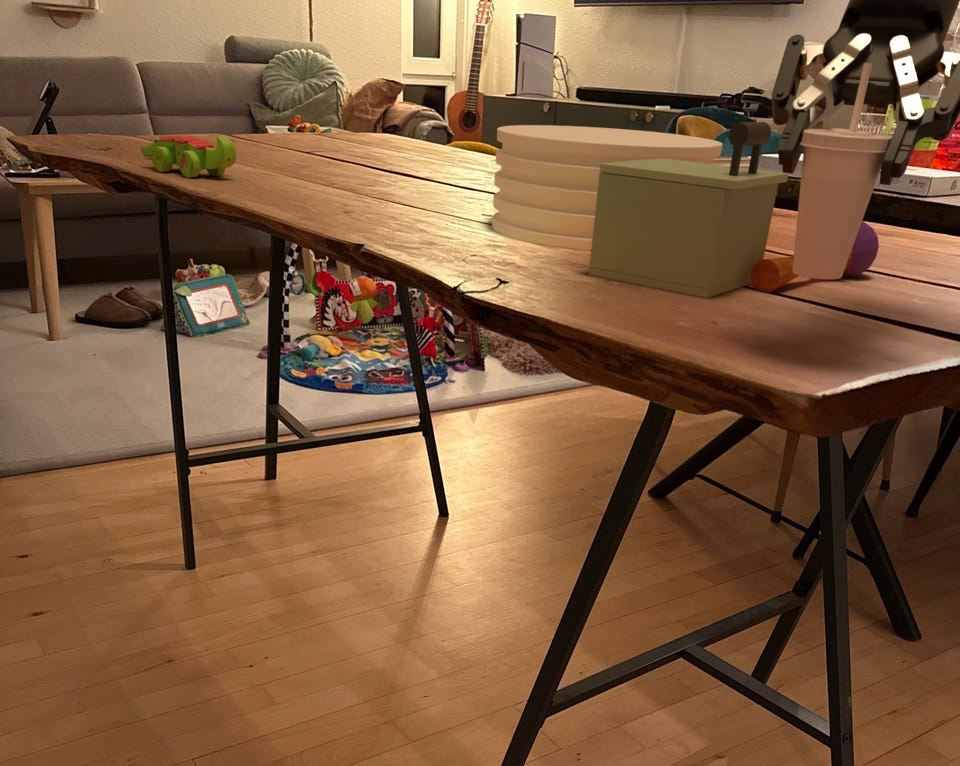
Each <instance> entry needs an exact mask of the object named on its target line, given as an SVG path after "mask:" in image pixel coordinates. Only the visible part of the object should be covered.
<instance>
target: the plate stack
mask: <svg viewBox="0 0 960 766" xmlns="http://www.w3.org/2000/svg"><path fill="white" fill-rule="evenodd" d="M496 141H498V142H500V143H501V144H502V145H501V146H502V148H499V149H496V151H495V163H496V164H497V165H498V166H501V167H500V170H497V171H495V173H494V181H493V182H494V183H493V184H494V186H495V187H496V188H497V189H499V191H497V192H496V193H494V194H493V198H492V199H493V202H492V206H493V208H494V209H495V210H496V211H498V212H495V213H494V214H493V215H492V217H491V219H492V221H491V227H492V229H493V230H494V231H495V232H497V233H498V234H501V235H504V236H505V237H506V236H507V237H509V238H513V239H517V240H520V241H525V242H528V243H535V244H540V245H545V246H552V247H558V248H566V249H567V248H568V249H574V250H585V251H591V248H592V238H593V229H594V220H595V210H596V201H597V192H598V183H599V174H600V173H602V172H600V164H601V163H610V162H622V161H633V160H645V159H656V158H665V159H673V160H681V161H690V162H698V163H706V164H715V165H717V164H716V163H714V159H715V158H718V157H720V156H722V149H723V142H720V141H718V140H715V139H710V138H705V137H698V136H693V135H685V134H676V133H669V132H658V131H649V130H648V131H647V130H637V129H625V128H624V129H623V128H612V127H611V128H610V127H596V126H595V127H594V126H577V125H552V124H551V125H549V124H518V125H517V124H515V125H503V126H499V127H497V130H496Z"/></svg>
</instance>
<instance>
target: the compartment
mask: <svg viewBox="0 0 960 766" xmlns="http://www.w3.org/2000/svg"><path fill="white" fill-rule="evenodd" d="M778 187H779V183H776V184H770V185H763V186H756V187H750V188H743V189H737V190H731V189H724V188H716V187H709V186H701V185H694V184H686V183H679V182H671V181H664V180H656V179H649V178H641V177H634V176H626V175H619V174H611V173H603V172H602V173H600V174H599V183H598V192H597V201H596V210H595V220H594V229H593V238H592V248H591V250H590V257H589V258H590V259H589V268H588V275H589V276H594V277H599V278H604V279H607V280H614V281H620V282H624V283H628V284H635V285H639V286H640V285H641V286H645V287H650V288H656V289H660V290H665V291H669V292H676V293H681V294H686V295H690V296H696V297H701V298H707V299H708V298H711V297H714V296H718V295H720V294H724V293H727V292H729V291H732V290H735V289H739V288H742V287H744V286H748V285H753V284H752V281H751V272H752V269H753V267H754V265H755V264H756V263H757V262H758V261H760V260H764V259H765V253H766V248H767V242H768V238H769V233H770V228H771V223H772V217H773V212H774V207H775V202H776V198H777V192H778Z"/></svg>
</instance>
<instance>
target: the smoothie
mask: <svg viewBox="0 0 960 766" xmlns="http://www.w3.org/2000/svg"><path fill="white" fill-rule="evenodd" d="M871 67H872V63H864V65H863V70H862V74H861V79H860V83H859V88H858V92H857V97H856V101H855V106H854V105H853V111H852V115H851V119H850V124H849V128H848V129H847V128H842V127H841V128H838V127H832V128H811V129H806V130H804V131H803V136H802V141H801V142H800V145H801V146H804V149H803V152H802V153H803V154H802V164H801V173H800V184H799V185H800V186H799V195H798V206H797V218H796V228H795V229H796V230H795V239H794V251H793V256H794V259H793V270H792V272H793V273H794V274H796V275H799V276H798V277H803V278H808V279H810V278H811V279H816V280H838V279H841V278H843V277H842V275H843V272H844V269H845V266H846V264H847V261H848V258H849V255H850V253H851V250H852V247H853V244H854V242H855V239H856V236H857V233H858V231H859V228H860V225H861V222H862V221H863V220H864V217H865V214H866V211H867V208H868V205H869V203H870V200H871V197H872V195H873V192H874V189H875V186H876V183H877V181H878V178H879V177H880V172H881V165H882V162H883V159H884V156H885V154H886V151H887V149H888V146H889V144H890V141H891V139H892V136H893V135H890V134H884V133H880V132H879V133H878V132H871V131H866V130H858V129H859V124H860V119H861V115H862V112H863V106H864V104H863V102H864V98H865V94H866V89H867V85H868V80H869V76H870V72H871Z"/></svg>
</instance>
